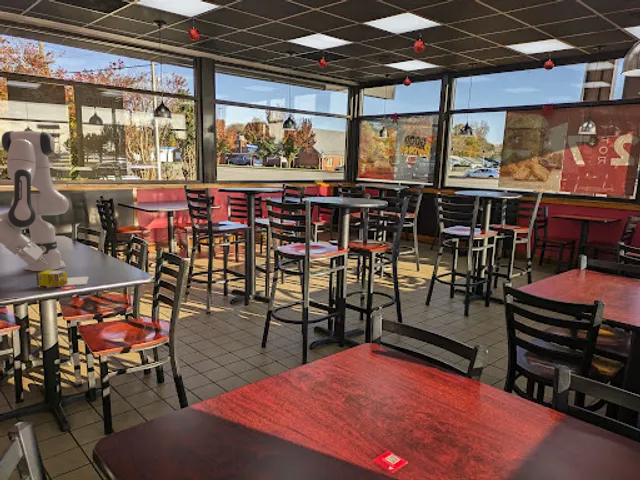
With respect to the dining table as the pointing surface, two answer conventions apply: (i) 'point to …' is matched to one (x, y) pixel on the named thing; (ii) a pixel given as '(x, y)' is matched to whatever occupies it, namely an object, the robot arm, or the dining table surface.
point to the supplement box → (51, 278)
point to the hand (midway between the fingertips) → (46, 265)
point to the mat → (74, 281)
